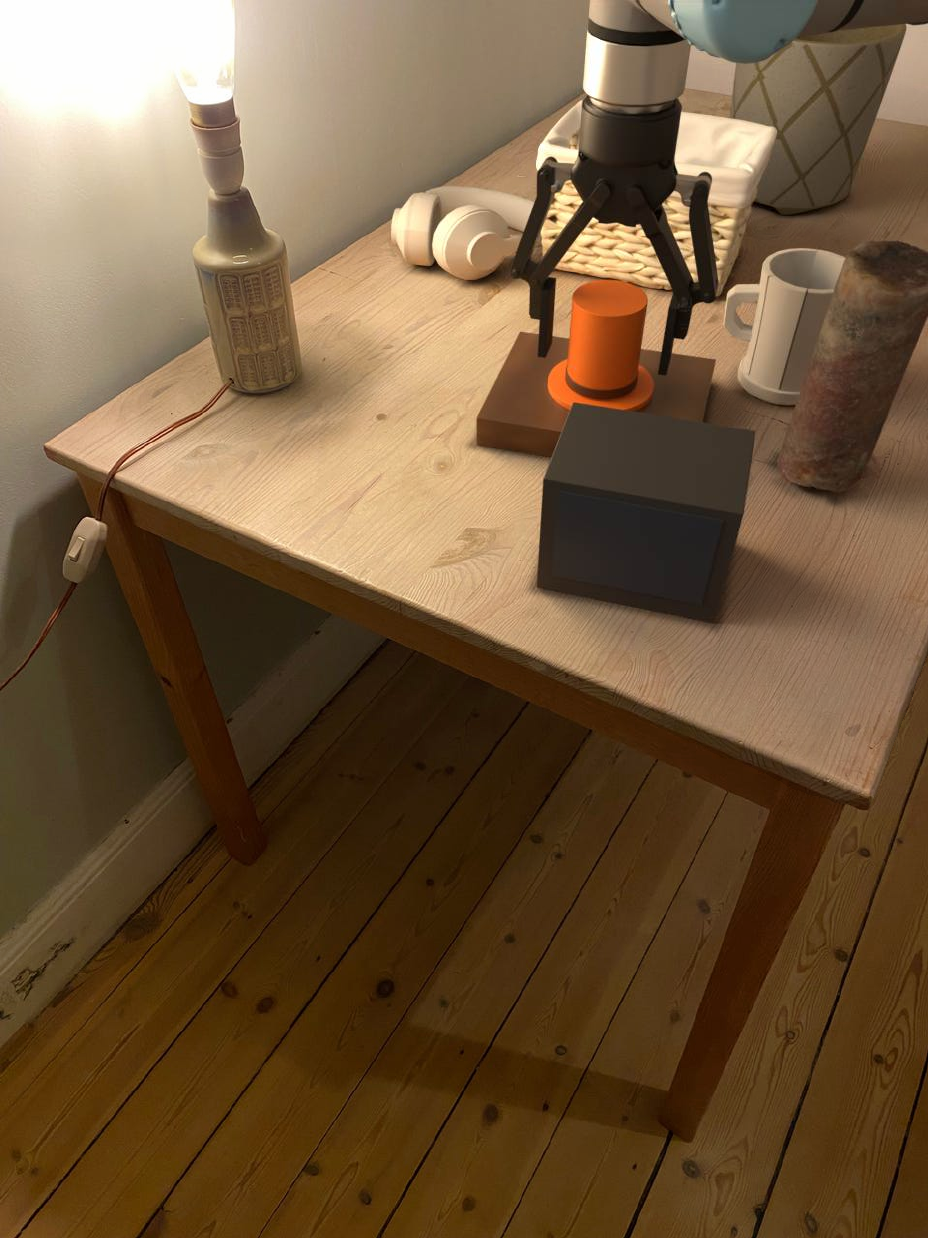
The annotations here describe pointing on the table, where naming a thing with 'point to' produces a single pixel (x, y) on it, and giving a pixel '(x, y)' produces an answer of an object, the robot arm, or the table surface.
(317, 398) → the table surface
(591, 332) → the hat
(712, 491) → the television
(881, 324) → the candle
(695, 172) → the basket
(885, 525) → the table surface
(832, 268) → the cup
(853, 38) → the planter
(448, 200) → the headphones
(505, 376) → the brown wooden board
